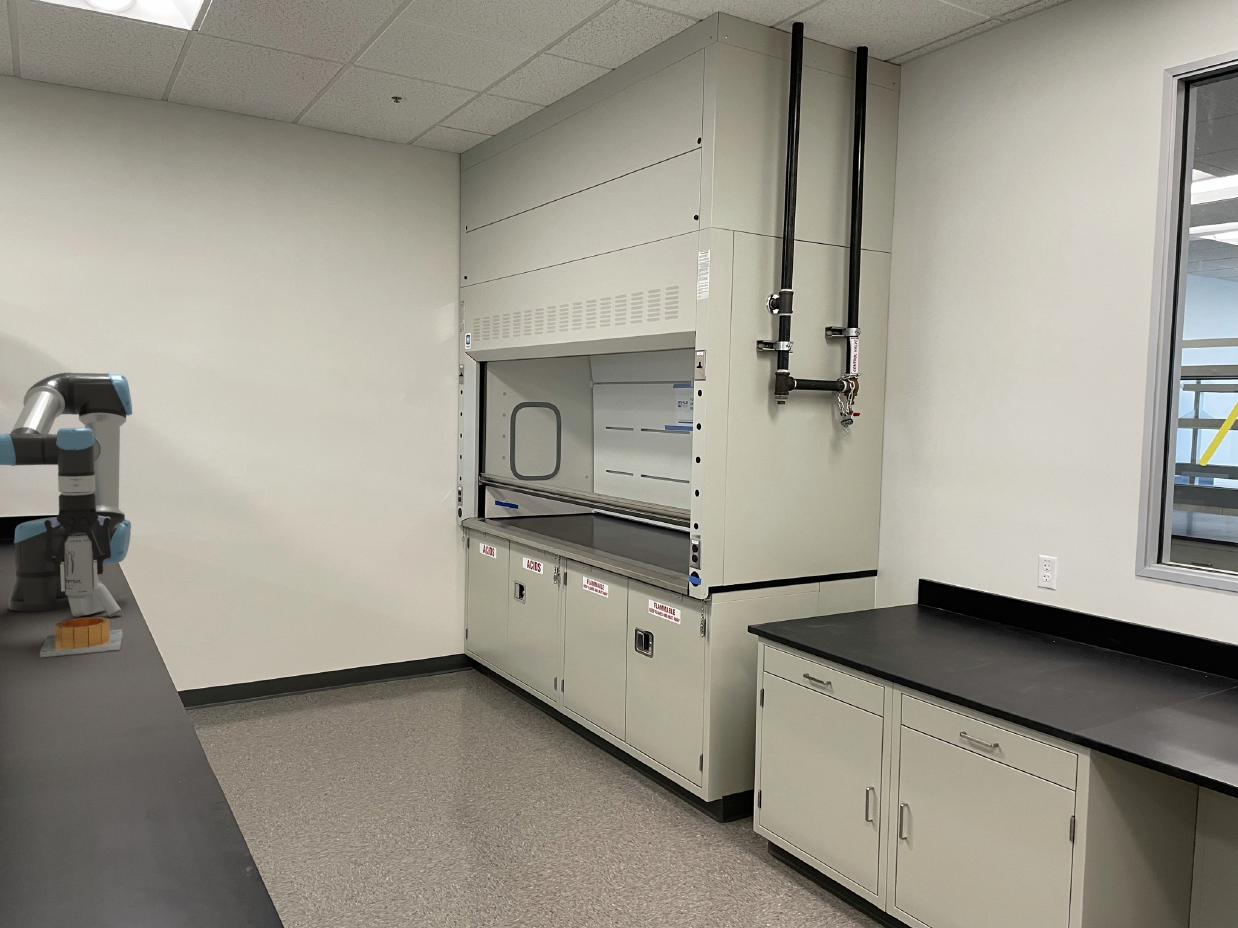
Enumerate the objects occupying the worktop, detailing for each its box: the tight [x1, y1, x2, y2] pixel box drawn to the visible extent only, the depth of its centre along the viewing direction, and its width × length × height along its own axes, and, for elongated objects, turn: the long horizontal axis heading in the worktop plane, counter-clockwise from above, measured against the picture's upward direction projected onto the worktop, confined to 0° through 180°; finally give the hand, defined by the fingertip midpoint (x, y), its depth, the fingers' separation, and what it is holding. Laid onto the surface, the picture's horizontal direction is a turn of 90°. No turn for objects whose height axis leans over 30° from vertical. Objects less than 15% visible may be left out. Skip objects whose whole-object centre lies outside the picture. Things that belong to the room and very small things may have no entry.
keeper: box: [39, 616, 123, 658], centre depth 204 cm, size 15×15×5 cm
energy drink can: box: [64, 533, 95, 599], centre depth 217 cm, size 6×6×15 cm
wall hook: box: [68, 579, 122, 618], centre depth 233 cm, size 8×10×10 cm
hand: (79, 588), depth 217 cm, fingers closed on energy drink can, 6 cm apart
